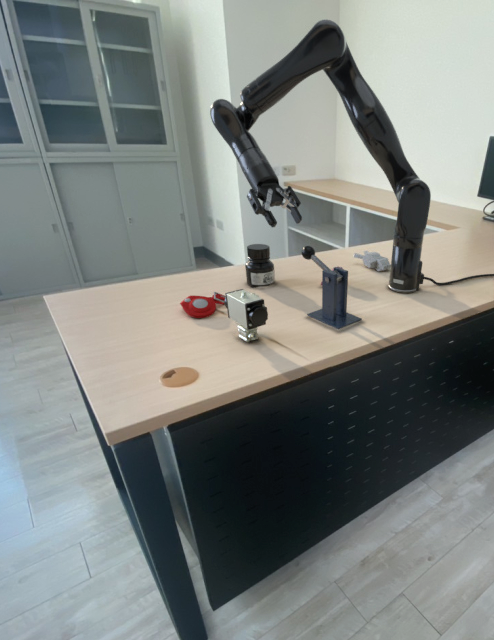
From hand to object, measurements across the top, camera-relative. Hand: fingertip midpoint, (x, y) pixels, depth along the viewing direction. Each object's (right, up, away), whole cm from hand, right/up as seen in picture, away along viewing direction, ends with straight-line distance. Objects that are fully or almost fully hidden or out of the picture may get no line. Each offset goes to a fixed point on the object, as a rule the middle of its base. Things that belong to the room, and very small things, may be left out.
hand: (287, 223), depth 109 cm
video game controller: (+11, -11, +26) cm, 30 cm away
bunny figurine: (+25, 0, +44) cm, 51 cm away
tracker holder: (-23, -23, +3) cm, 33 cm away
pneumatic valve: (-8, -32, -10) cm, 34 cm away
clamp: (+13, -26, +2) cm, 29 cm away
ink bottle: (-12, -11, +23) cm, 28 cm away
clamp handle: (+9, -13, -2) cm, 16 cm away
